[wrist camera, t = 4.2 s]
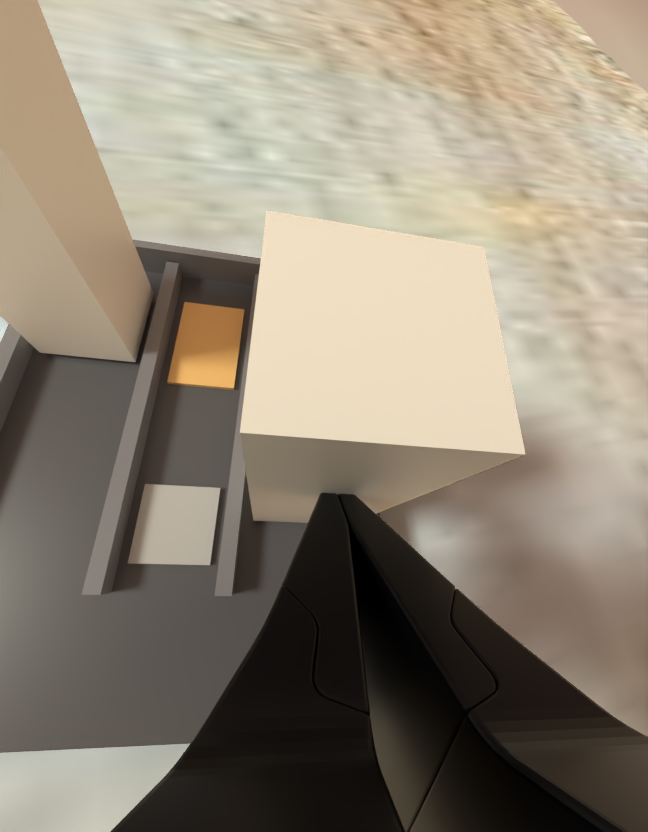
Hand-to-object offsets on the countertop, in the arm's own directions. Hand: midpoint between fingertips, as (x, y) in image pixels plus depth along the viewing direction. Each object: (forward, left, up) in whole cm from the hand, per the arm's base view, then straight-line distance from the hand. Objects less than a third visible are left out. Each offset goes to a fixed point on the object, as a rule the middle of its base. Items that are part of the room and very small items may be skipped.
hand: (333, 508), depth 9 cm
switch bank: (+5, +3, -8) cm, 10 cm away
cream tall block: (+2, -1, -7) cm, 7 cm away
